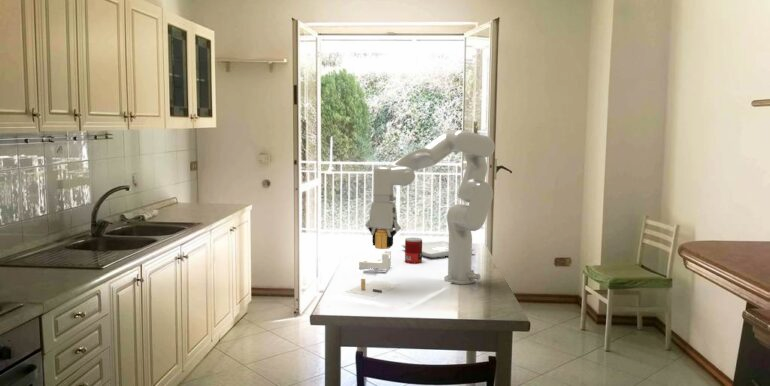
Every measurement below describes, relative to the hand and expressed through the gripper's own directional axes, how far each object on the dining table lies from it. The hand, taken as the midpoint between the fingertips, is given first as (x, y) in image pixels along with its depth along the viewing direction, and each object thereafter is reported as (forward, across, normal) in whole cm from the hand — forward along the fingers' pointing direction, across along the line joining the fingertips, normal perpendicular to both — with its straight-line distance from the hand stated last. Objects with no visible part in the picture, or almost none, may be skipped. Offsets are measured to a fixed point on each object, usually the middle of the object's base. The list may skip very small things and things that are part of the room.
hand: (382, 245), depth 236 cm
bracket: (+18, +22, -31) cm, 42 cm away
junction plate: (+18, +2, +4) cm, 18 cm away
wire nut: (+1, 0, 0) cm, 1 cm away
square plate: (+18, +14, -78) cm, 81 cm away
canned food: (+18, +14, -52) cm, 57 cm away
